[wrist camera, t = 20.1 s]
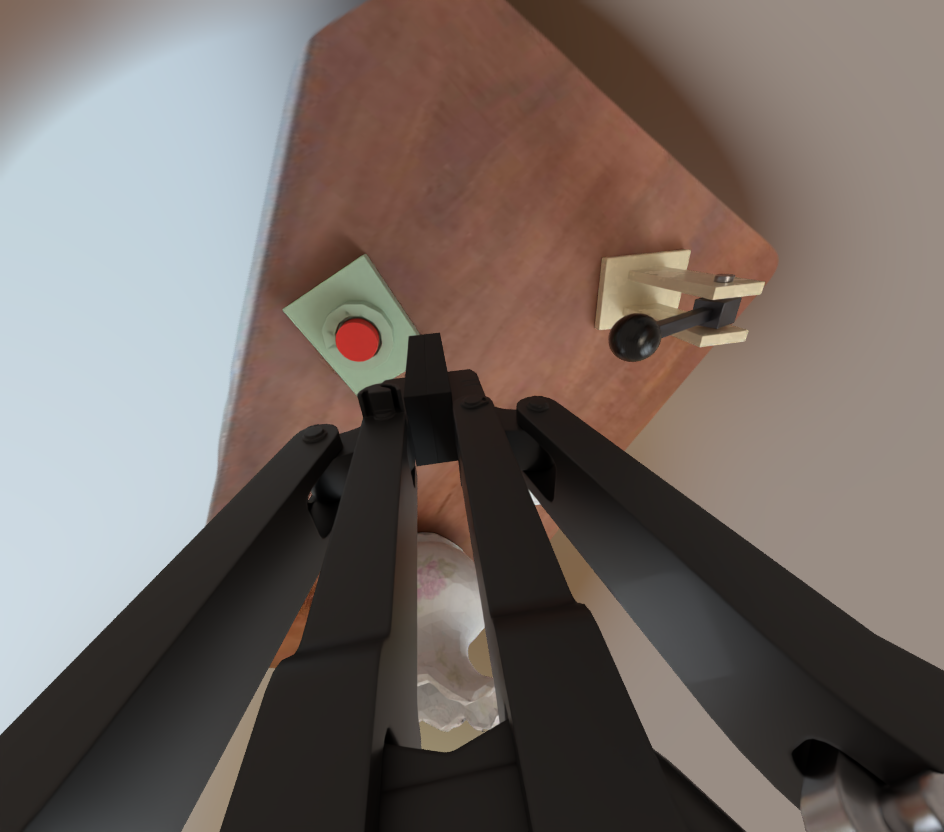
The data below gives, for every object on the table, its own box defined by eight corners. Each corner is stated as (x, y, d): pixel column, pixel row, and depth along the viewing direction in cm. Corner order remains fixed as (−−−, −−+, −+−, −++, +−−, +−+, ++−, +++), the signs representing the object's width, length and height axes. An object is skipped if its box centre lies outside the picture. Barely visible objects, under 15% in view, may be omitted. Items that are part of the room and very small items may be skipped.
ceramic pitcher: (403, 602, 64) (408, 789, 44) (323, 562, 54) (281, 784, 33) (495, 547, 61) (547, 723, 40) (429, 493, 50) (453, 695, 30)
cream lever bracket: (594, 327, 42) (666, 367, 30) (601, 257, 38) (688, 270, 26) (668, 318, 42) (767, 353, 31) (683, 249, 38) (803, 258, 27)
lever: (595, 359, 27) (635, 373, 24) (601, 314, 25) (644, 322, 22) (697, 324, 33) (739, 331, 30) (707, 285, 31) (752, 289, 28)
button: (330, 331, 34) (326, 336, 32) (362, 310, 33) (360, 314, 32) (356, 363, 36) (353, 369, 34) (387, 343, 35) (385, 348, 34)
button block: (288, 305, 35) (275, 313, 32) (366, 253, 34) (360, 255, 31) (362, 391, 41) (357, 406, 38) (430, 349, 40) (431, 360, 36)
